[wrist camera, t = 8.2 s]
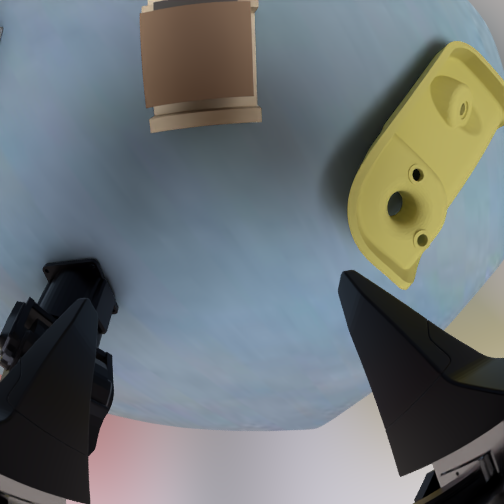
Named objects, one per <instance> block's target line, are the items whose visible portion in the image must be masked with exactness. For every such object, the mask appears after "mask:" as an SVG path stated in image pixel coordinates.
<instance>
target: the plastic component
mask: <svg viewBox="0 0 504 504" xmlns="http://www.w3.org/2000/svg"><path fill="white" fill-rule="evenodd" d="M502 126H504V81H503V79H502V78H501V77H500V76H499V75H498V73H497V72H496V71H495V70H494V69H493V67H492V66H491V65H490V64H489V63H488V62H487V61H486V60H485V59H484V57H483V56H482V55H481V54H480V53H479V52H478V51H477V50H475V49H474V48H473V47H472V46H470V45H468V44H466V43H463V42H460V41H454V42H451V43H449V44H448V45H446V46H445V47H444V48H443V49H442V50H441V51H439V52H438V53H437V54H436V55H435V56H434V58H433V59H432V61H431V62H430V63H429V65H428V66H427V67H426V69H425V70H424V72H423V73H422V74H421V76H420V77H419V79H418V80H417V81H416V83H415V84H414V85H413V87H412V88H411V89H410V91H409V92H408V94H407V95H406V96H405V98H404V99H403V100H402V102H401V103H400V104H399V106H398V107H397V108H396V110H395V111H394V112H393V114H392V115H391V116H390V118H389V119H388V120H387V122H386V123H385V124H384V126H383V129H382V132H381V133H380V134H379V136H378V137H377V138H376V140H375V141H374V143H373V144H372V146H371V147H370V149H369V151H368V152H367V154H366V156H365V158H364V160H363V162H362V164H361V166H360V167H359V169H358V172H357V174H356V176H355V178H354V181H353V183H352V186H351V189H350V193H349V198H348V205H347V216H348V223H349V227H350V231H351V234H352V236H353V239H354V241H355V243H356V245H357V246H358V248H359V250H360V251H361V252H362V254H363V255H364V256H365V257H366V258H367V259H368V260H369V261H370V262H371V263H372V264H373V265H374V266H375V267H376V268H377V269H379V270H380V271H381V272H382V273H383V274H385V275H386V276H387V277H388V278H389V279H390V280H391V281H393V282H394V283H395V284H396V285H397V286H398V287H399V288H401V289H403V290H406V289H408V287H409V286H410V285H411V284H412V283H413V281H414V279H415V274H416V270H417V267H418V264H419V261H420V258H421V255H422V253H423V252H424V251H425V249H427V248H428V247H429V246H430V243H431V242H432V241H433V239H434V238H435V237H436V236H437V234H438V233H439V231H440V230H441V228H442V226H443V224H444V221H445V217H446V213H447V209H448V207H449V206H450V204H451V203H452V201H453V200H454V199H455V197H456V196H457V194H458V193H459V191H460V190H461V188H462V187H463V185H464V184H465V182H466V181H467V179H468V178H469V176H470V175H471V173H472V171H473V170H474V168H475V167H476V165H477V163H478V162H479V160H480V158H481V157H482V155H483V153H484V152H485V150H486V148H487V146H488V145H489V143H490V141H491V139H492V137H493V135H494V134H495V132H496V130H497V129H498V128H500V127H502ZM414 169H418V170H419V172H420V178H419V180H417V181H415V180H414V179H413V176H412V173H413V170H414ZM397 191H398V192H399V193H400V195H401V197H402V202H403V203H402V208H401V209H400V211H399V212H398V213H397V214H396V215H393V216H389V214H388V211H387V205H388V201H389V198H390V197H391V196H392V194H394V193H395V192H397Z"/></svg>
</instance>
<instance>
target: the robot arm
mask: <svg viewBox="0 0 504 504" xmlns="http://www.w3.org/2000/svg"><path fill="white" fill-rule="evenodd" d="M92 264H93V265H94V266H93V265H92ZM47 269H48V270H47ZM43 272H44V274H45V276H46V278H47V280H48V284H47V286H46V288H45V290H44V291H43V293H42V295H41V297H40V299H39V301H38V303H37V304H36V303H35V301H34V300H33V299H32V298H31V297H29V299H28V300H27V302H26V303H25V302H18V301H17V302H16V304H15V306H14V308H13V310H12V312H11V313H10V315H9V317H8V319H7V321H6V324H5V326H4V328H3V330H2V332H1V334H0V349H1V351H0V355H1V357H0V366H2V367H3V368H4V372H3V374H2V377H1V380H0V504H66V499H69V500H72V501H76V502H80V503H85V504H90V491H89V471H88V470H89V469H88V456H89V455H90V454H91V453H92V452H93V451H94V450H95V447H96V443H97V438H98V433H99V430H100V427H101V425H102V422H103V420H104V418H105V416H106V415H107V413H108V411H109V410H110V407H111V405H112V401H113V396H114V385H113V366H112V355H111V354H109V353H108V352H104V351H103V350H101V349H99V344H100V340H101V336H102V334H105V333H106V332H107V329H108V325H109V321H110V318H111V314H116V313H117V312H118V306H117V304H116V302H115V298H114V296H113V293H112V291H111V289H110V287H109V284H108V282H107V281H106V280H105V278H104V275H103V273H102V270H101V268H100V266H99V263H98V262H97V261H96V260H95V259H87V260H78V261H69V262H61V263H52V264H45V266H44V267H43ZM338 294H339V298H340V301H341V305H342V308H343V311H344V315H345V319H346V322H347V326H348V329H349V332H350V335H351V337H352V340H353V342H354V345H355V347H356V350H357V352H358V355H359V357H360V360H361V363H362V365H363V368H364V370H365V373H366V376H367V378H368V381H369V384H370V387H371V389H372V392H373V395H374V398H375V400H376V403H377V406H378V409H379V412H380V415H381V418H382V420H383V423H384V427H385V429H386V433H387V436H388V439H389V443H390V445H391V449H392V452H393V455H394V459H395V462H396V466H397V469H398V472H399V475H400V477H401V476H404V475H406V474H409V473H411V472H414V471H416V470H418V469H421V468H423V467H425V466H427V465H429V464H433V467H434V470H432V471H431V472H429V473H427V474H426V477H425V479H424V481H423V483H422V485H421V487H420V490H419V491H418V494H417V496H416V498H415V499H414V501H415V503H413V504H504V358H491V357H487V356H485V355H483V354H481V353H479V352H477V351H476V350H474V349H473V348H471V347H469V346H468V345H466V344H464V343H462V342H461V341H459V340H458V339H456V338H454V337H453V336H451V335H449V334H448V333H446V332H445V331H443V330H442V329H440V328H439V327H437V326H436V325H435V324H433V323H432V322H430V321H429V320H427V319H426V318H424V317H423V316H422V315H420V314H419V313H417V312H416V311H414V310H413V309H412V308H410V307H409V306H407V305H406V304H404V303H403V302H401V301H400V300H398V299H397V298H395V297H394V296H392V295H391V294H389V293H388V292H386V291H385V290H383V289H382V288H380V287H379V286H377V285H376V284H374V283H373V282H371V281H370V280H368V279H367V278H365V277H364V276H362V275H361V274H359V273H358V272H356V271H354V270H348V271H343V272H342V274H341V278H340V283H339V287H338Z"/></svg>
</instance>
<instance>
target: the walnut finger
mask: <svg viewBox="0 0 504 504" xmlns="http://www.w3.org/2000/svg"><path fill="white" fill-rule="evenodd" d="M140 38H141V56H142V70H143V82H144V93H145V102H146V108H150V107H155V106H161V105H167V104H174V103H181V102H188V101H197V100H206V99H216V98H229V97H248V96H254V84H253V55H252V28H251V2H250V1H238V0H163V1H158V2H153V11H149V12H144V13H140Z"/></svg>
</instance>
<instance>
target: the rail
mask: <svg viewBox="0 0 504 504" xmlns="http://www.w3.org/2000/svg"><path fill="white" fill-rule="evenodd" d="M158 1H163V0H148V5H147V6H142V13H144V12H149V11H153V2H158ZM238 1H250V2H251V28H252V55H253V84H254V96H248V97H229V98H216V99H206V100H197V101H188V102H181V103H174V104H167V105H161V106H155V107H154V114H155V116H154V117H152V118H150V119H149V122H150V130H151V133H155V132H161V131H168V130H175V129H182V128H190V127H199V126H208V125H219V124H232V123H249V122H262V112H261V107H259V106H257V78H256V45H255V15H254V13H255V11H256V10H257V8H258V0H238Z"/></svg>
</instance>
